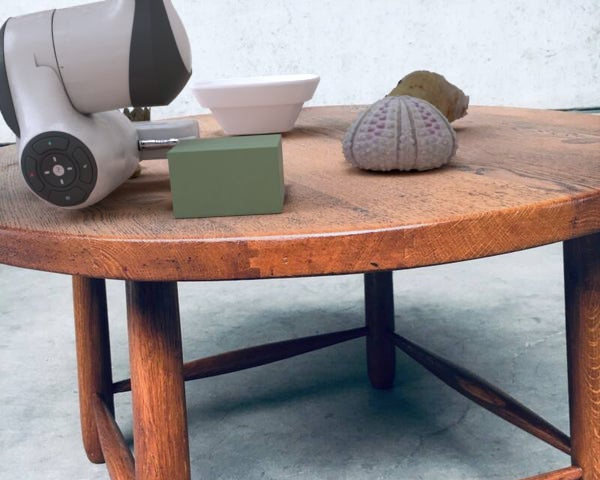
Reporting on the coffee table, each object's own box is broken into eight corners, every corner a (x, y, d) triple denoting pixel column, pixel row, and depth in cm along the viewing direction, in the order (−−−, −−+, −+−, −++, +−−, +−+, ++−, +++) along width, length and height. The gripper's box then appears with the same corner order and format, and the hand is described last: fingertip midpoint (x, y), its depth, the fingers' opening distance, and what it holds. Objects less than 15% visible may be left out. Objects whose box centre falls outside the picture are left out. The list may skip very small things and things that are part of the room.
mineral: (407, 82, 114) (337, 97, 119) (421, 154, 117) (352, 166, 122) (465, 56, 135) (404, 69, 140) (475, 118, 139) (414, 129, 143)
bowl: (186, 146, 137) (180, 87, 134) (204, 131, 156) (199, 79, 153) (321, 139, 136) (318, 79, 133) (323, 125, 155) (321, 72, 152)
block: (174, 218, 83) (166, 152, 81) (188, 199, 93) (182, 139, 90) (281, 213, 83) (277, 146, 81) (285, 194, 92) (281, 134, 90)
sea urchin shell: (358, 160, 113) (355, 92, 110) (466, 158, 108) (467, 88, 105) (328, 177, 101) (325, 102, 98) (449, 176, 97) (449, 98, 94)
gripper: (190, 112, 95) (205, 102, 108) (-1, 123, 96) (36, 111, 108) (196, 173, 97) (210, 156, 110) (10, 183, 98) (45, 165, 111)
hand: (122, 134), depth 109 cm, fingers open, 8 cm apart
